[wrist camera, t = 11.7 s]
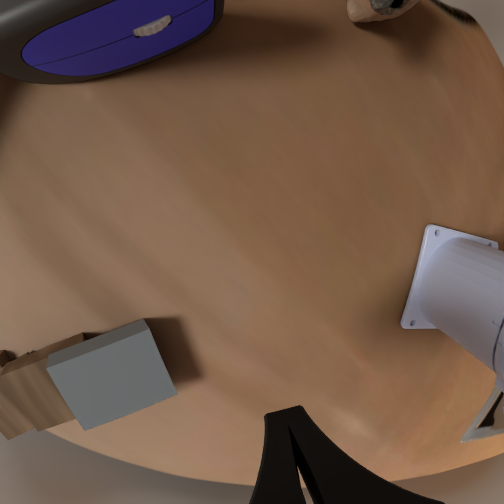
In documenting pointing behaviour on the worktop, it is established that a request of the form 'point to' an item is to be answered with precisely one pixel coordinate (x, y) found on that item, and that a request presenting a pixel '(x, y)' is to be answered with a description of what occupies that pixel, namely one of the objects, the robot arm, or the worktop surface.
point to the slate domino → (111, 375)
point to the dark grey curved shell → (95, 35)
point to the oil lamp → (377, 9)
